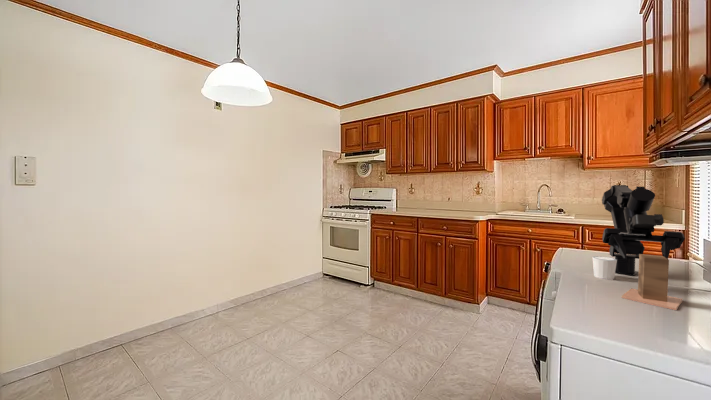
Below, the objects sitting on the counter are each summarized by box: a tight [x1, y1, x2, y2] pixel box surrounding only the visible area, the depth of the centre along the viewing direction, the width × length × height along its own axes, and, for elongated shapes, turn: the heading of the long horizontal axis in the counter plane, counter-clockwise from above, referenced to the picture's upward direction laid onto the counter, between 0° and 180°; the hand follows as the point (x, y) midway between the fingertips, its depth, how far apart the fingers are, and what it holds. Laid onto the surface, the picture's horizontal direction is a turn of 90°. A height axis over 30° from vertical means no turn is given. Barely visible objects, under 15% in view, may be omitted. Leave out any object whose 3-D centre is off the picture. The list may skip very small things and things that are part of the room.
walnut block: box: [637, 253, 670, 302], centre depth 85 cm, size 5×5×12 cm
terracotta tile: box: [621, 288, 684, 311], centre depth 86 cm, size 11×11×1 cm
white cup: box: [591, 255, 617, 280], centre depth 107 cm, size 7×7×7 cm
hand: (645, 259), depth 91 cm, fingers open, 9 cm apart
